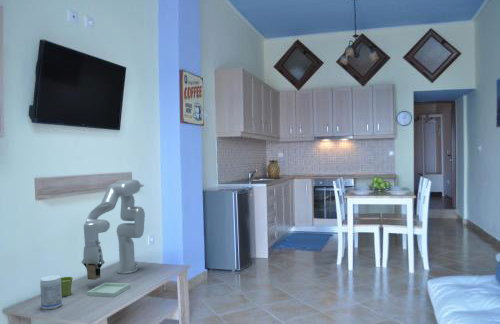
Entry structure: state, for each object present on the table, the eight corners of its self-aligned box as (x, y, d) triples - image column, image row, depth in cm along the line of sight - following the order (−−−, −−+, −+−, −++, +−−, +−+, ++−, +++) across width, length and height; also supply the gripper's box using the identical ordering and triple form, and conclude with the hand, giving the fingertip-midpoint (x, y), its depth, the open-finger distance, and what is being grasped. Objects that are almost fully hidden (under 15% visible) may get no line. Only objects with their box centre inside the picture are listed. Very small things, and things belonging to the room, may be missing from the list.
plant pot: (66, 298, 221) (66, 282, 221) (51, 297, 223) (50, 281, 223) (77, 292, 230) (76, 276, 230) (62, 291, 232) (61, 276, 232)
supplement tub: (42, 305, 212) (40, 276, 211) (62, 302, 215) (61, 274, 215) (40, 311, 203) (39, 281, 202) (61, 308, 206) (60, 278, 206)
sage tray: (105, 286, 240) (104, 282, 240) (130, 287, 236) (130, 283, 236) (87, 295, 224) (87, 291, 224) (114, 297, 220) (113, 293, 220)
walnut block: (93, 276, 241) (92, 262, 241) (100, 276, 240) (99, 263, 240) (87, 279, 236) (86, 265, 236) (95, 279, 235) (94, 265, 235)
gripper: (108, 242, 239) (110, 273, 240) (83, 241, 243) (85, 272, 244) (100, 245, 231) (103, 277, 232) (74, 245, 236) (76, 276, 237)
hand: (93, 274), depth 238 cm, fingers closed on walnut block, 5 cm apart
